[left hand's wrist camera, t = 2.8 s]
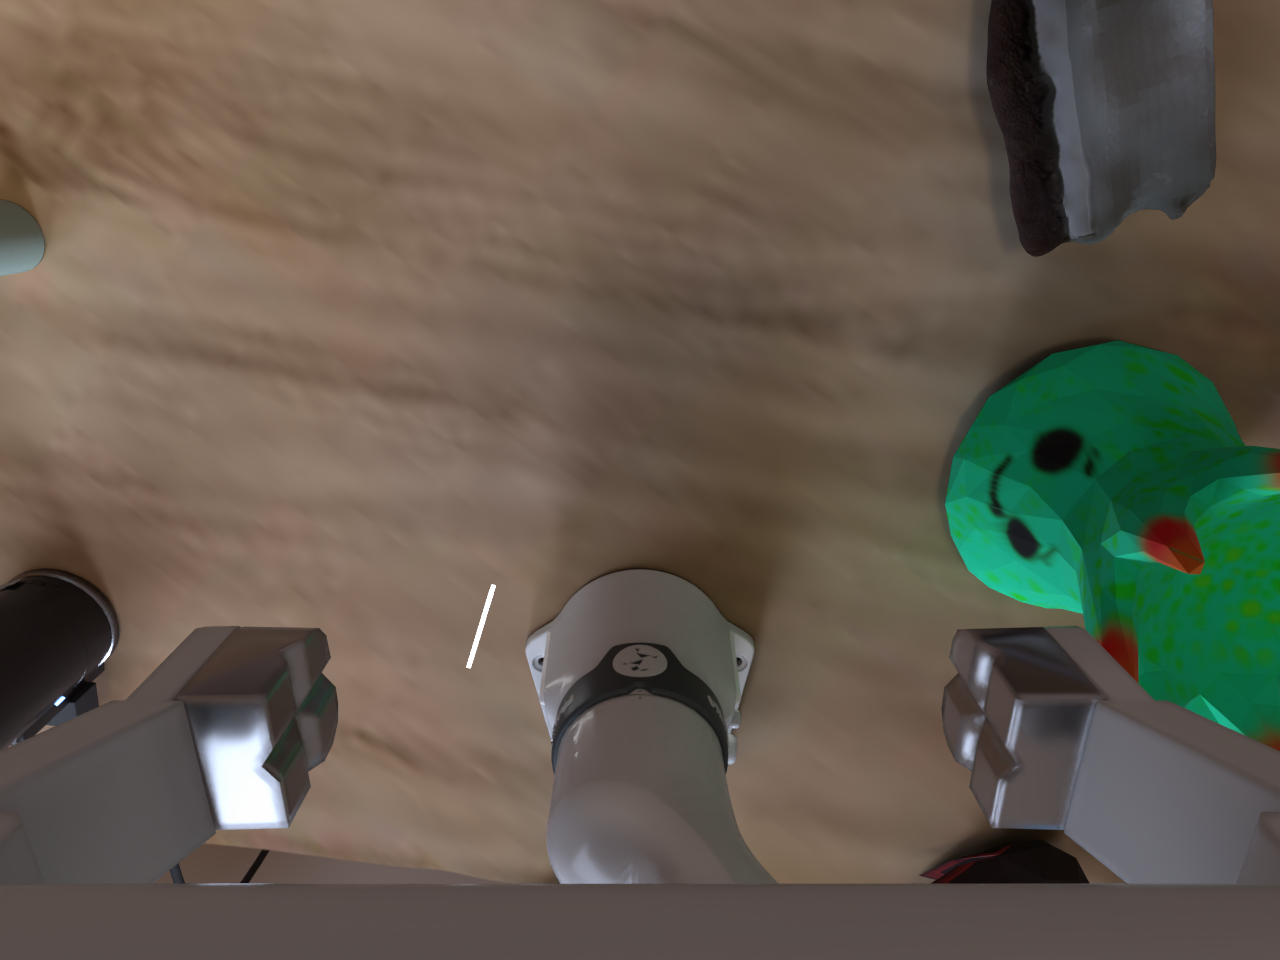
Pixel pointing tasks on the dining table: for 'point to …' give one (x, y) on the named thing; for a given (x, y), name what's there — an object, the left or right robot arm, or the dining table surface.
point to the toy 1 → (1012, 866)
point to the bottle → (18, 239)
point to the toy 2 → (1133, 523)
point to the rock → (1101, 111)
